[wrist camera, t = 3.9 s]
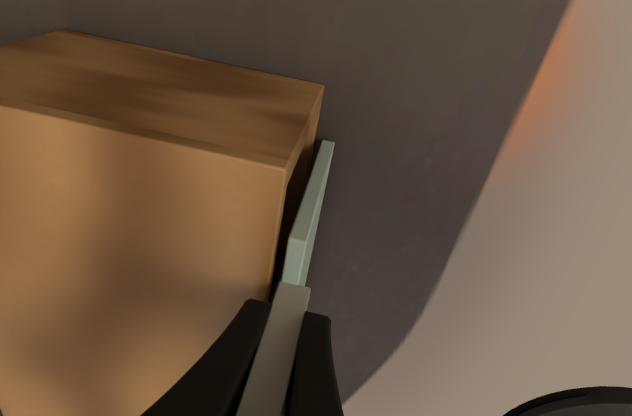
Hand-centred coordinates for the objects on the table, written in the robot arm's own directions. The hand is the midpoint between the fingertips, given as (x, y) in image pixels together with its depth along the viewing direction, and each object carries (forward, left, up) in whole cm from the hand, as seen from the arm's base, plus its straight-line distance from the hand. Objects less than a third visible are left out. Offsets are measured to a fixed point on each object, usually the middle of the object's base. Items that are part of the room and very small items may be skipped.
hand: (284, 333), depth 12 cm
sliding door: (0, +1, -7) cm, 8 cm away
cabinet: (+6, +4, -8) cm, 10 cm away
